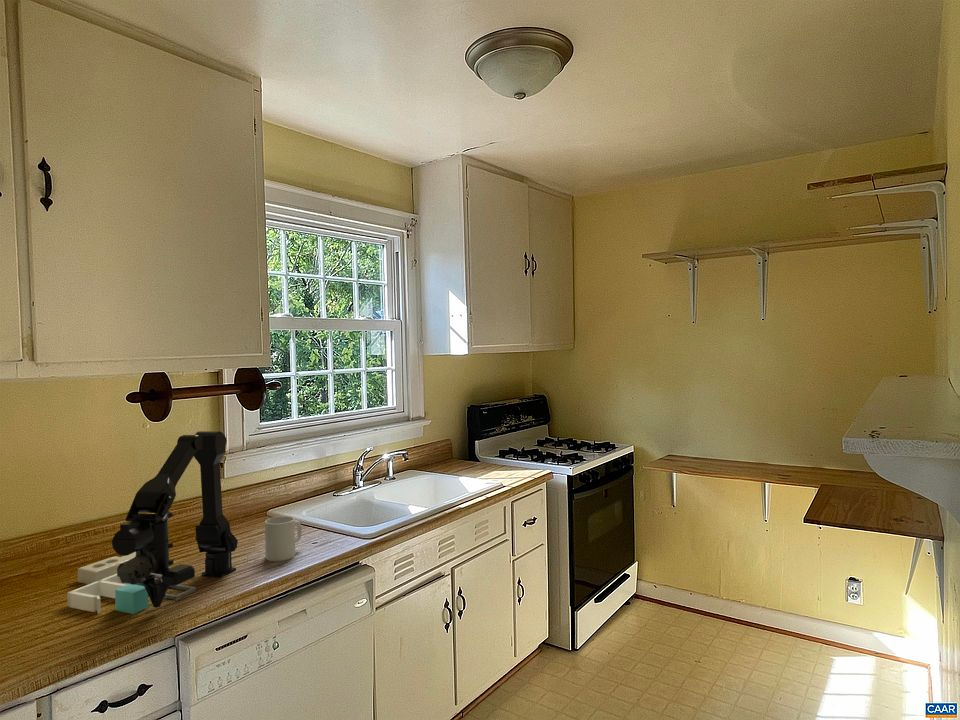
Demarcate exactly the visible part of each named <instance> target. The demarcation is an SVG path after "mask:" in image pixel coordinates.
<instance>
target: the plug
mask: <svg viewBox="0 0 960 720" xmlns="http://www.w3.org/2000/svg"><path fill="white" fill-rule="evenodd" d="M114 601H115V611H116V612H123V613H128V614H133V615H134V614H136V613H139V612H141V611H143V610H146V609H147V608H149V595H148V593H147V591H146V589H145V587H144V586H140V585H131V584H128V585H126V586H123V587H121V588H118V589H116V590H115V598H114Z"/></svg>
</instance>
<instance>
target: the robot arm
mask: <svg viewBox="0 0 960 720" xmlns="http://www.w3.org/2000/svg"><path fill="white" fill-rule="evenodd" d="M227 442H228V441H227V437H226V435H225V434H224V433H223V432H222V431H221V430H220V431H219V430H218V431H215V430H213V431H212V430H211V431H209V430H207V431H206V430H205V431H203V430H202V431H201V430H200V431H196V432H195V433H194V434H182V435H180V436H179V437H178V438H177V441H176V445H175V447H174V448H173V450H172V452H171V453H169V456H168V457H167V459H166V460H165V462H164V463H163V465H162V467H161V468H160V469H159V471H158V473H157V474H156V475H155V476H153V478H151V479H149V480H148V481H145V483H144V484H143V485H142V486H140V488H139V490H137V492H136V493H135V495H134V498H133V500H132V503H131V505H130V507H129V510H128V512H127V515H126V517H125V522H124V523H121V524H120V525H119V530H118V531H116V533H114V535H113V538H112V540H111V545H112V549H113V550H114V552H115V553H117V554H118V555H120V556H121V557H122V556H127V555H130V554H132V553H134V552H136V556H135V557H134V558H133V559H130V560H129V561H126V562H123V563H121V564H120V565H119V567H118V568H117V576H118V577H120V580H121V582H122V583H129V584H131V585H134V584H136V583H140V584H141V585H143V586H144V587H145V589H146V591H147V593H148V598H149V599H150V602H151V604H152V606H153V608H154V609H155V608H156V609H158V608H160V607H161V604H162V603H163V600H164V599H165V598H164V596H165V594H167V592H168V589H170V588H169V586H170V585H172V586H174V585H181V584H183V583H185V582H187V581H189V580H191V579H193V578H196V577H195V576H196V575H195V574H196V573H195V567H194V566H193V565H188V564H183V563H180V564H177V565H175V566H172V565H174V559H170V548H171V549H172V548H173V547H174V543H173V542H169V519H171V518H172V517H174V514H173V513H172V512H171V511H169V510H170V509H171V507H172V505H173V503H174V501H175V499H176V496H177V492H176V486H177V485H178V482H179V481H180V479H181V478H182V476H183V474H184V472H185V471H186V469H188V468H187V467H188V466H189V464H190V463H191V461H192V460H193V459H195V460H196V461H197V463H198V464H199V467H200V488H201V503H202V507H201V508H202V518H201V520H200V522H199V523H198V524H197V525H196V526H195V541H196V543H197V547H198V551H199V553H205V558H204V570H205V571H203V572H201V575H202V576H208V577H214V578H221V577H223V576H225V575H227V574H229V573H232V572H234V571H236V570H237V567H234V566H232V560H233V559H232V552H235V551H236V549H237V548H238V542H239V540H238V539H237V538H236V537H235V535H234V534H233V533H232V531H231V525H230V521H228V519H227V517H225V515H224V514H223V497H222V477H221V476H222V475H221V462H222V459H223V457H224V456H225V455H226V451H227V449H226V448H227V447H226V446H227ZM171 566H172V567H171Z"/></svg>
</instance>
